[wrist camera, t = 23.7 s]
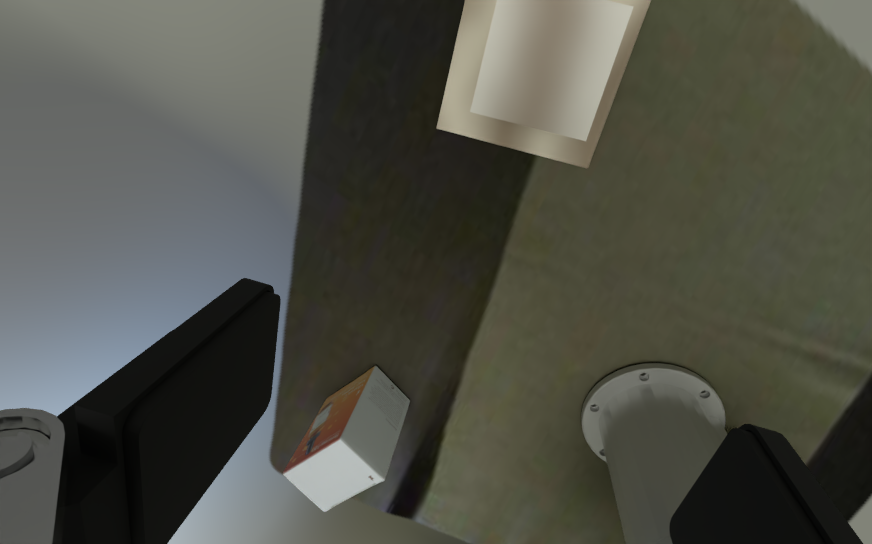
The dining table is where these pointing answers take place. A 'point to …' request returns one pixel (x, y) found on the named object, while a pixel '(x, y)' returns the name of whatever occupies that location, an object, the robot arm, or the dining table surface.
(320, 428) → the small box
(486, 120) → the board
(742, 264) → the dining table surface
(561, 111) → the cream block
